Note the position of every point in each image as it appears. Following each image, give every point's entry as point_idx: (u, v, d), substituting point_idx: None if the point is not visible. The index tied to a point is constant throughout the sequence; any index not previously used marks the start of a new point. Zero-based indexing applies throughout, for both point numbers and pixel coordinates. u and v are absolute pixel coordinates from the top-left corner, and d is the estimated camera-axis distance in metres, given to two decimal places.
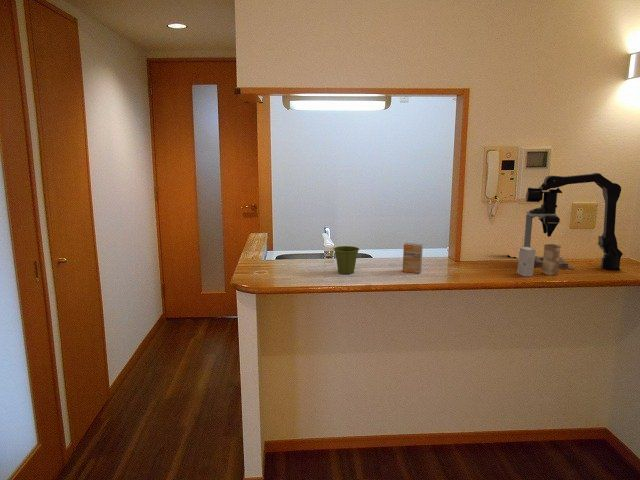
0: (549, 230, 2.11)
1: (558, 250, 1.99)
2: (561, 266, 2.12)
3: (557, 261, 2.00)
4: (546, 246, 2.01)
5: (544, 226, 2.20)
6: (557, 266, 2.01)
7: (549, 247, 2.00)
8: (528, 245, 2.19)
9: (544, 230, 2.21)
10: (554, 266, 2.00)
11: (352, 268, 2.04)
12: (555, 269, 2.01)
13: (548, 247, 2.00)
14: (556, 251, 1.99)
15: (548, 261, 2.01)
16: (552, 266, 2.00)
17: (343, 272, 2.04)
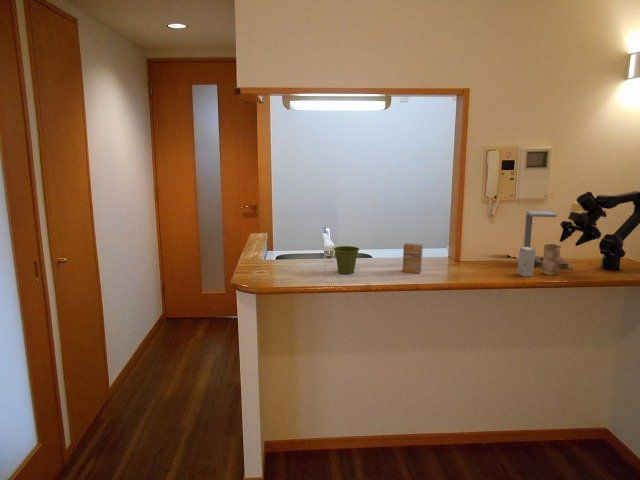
0: (581, 240, 1.98)
1: (558, 250, 1.99)
2: (561, 266, 2.12)
3: (557, 261, 2.00)
4: (546, 246, 2.01)
5: (564, 235, 2.07)
6: (557, 266, 2.01)
7: (549, 247, 2.00)
8: (528, 245, 2.19)
9: (561, 238, 2.07)
10: (554, 266, 2.00)
11: (352, 268, 2.04)
12: (555, 269, 2.01)
13: (548, 247, 2.00)
14: (556, 251, 1.99)
15: (548, 261, 2.01)
16: (552, 266, 2.00)
17: (343, 272, 2.04)
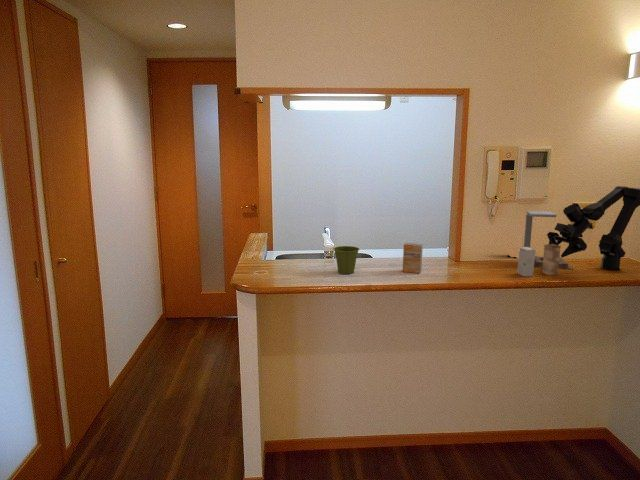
0: (567, 252, 1.97)
1: (558, 250, 1.99)
2: (561, 266, 2.12)
3: (557, 261, 2.00)
4: (546, 246, 2.01)
5: None
6: (557, 266, 2.01)
7: (549, 247, 2.00)
8: (528, 245, 2.19)
9: None
10: (554, 266, 2.00)
11: (352, 268, 2.04)
12: (555, 269, 2.01)
13: (548, 247, 2.00)
14: (556, 251, 1.99)
15: (548, 261, 2.01)
16: (552, 266, 2.00)
17: (343, 272, 2.04)
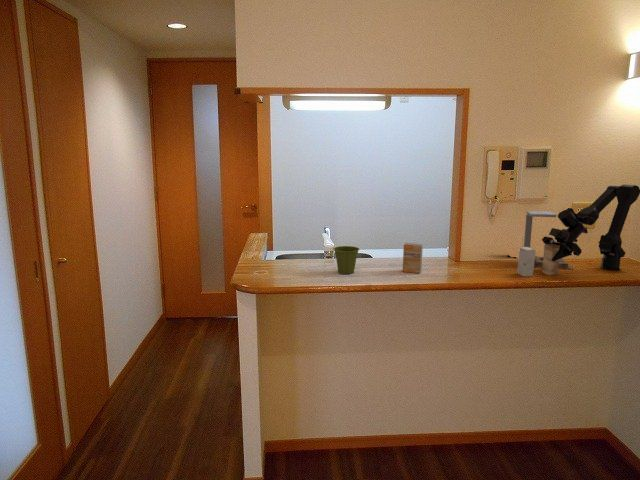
0: (558, 256, 1.99)
1: (558, 250, 1.99)
2: (561, 266, 2.12)
3: (557, 261, 2.00)
4: (546, 246, 2.01)
5: None
6: (557, 266, 2.01)
7: (549, 247, 2.00)
8: (528, 245, 2.19)
9: None
10: (554, 266, 2.00)
11: (352, 268, 2.04)
12: (555, 269, 2.01)
13: (548, 247, 2.00)
14: (556, 251, 1.99)
15: (548, 261, 2.01)
16: (552, 266, 2.00)
17: (343, 272, 2.04)
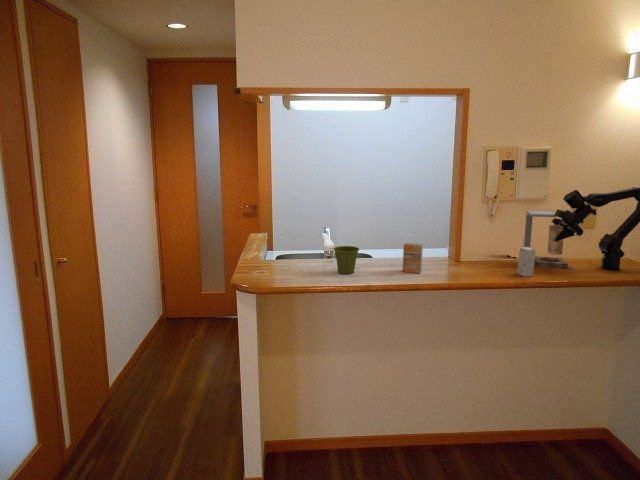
0: (561, 236, 2.06)
1: None
2: (561, 266, 2.12)
3: (561, 241, 2.07)
4: (550, 227, 2.09)
5: None
6: (561, 246, 2.08)
7: (552, 227, 2.07)
8: (528, 245, 2.19)
9: None
10: (557, 246, 2.08)
11: (352, 268, 2.04)
12: (559, 249, 2.08)
13: (552, 227, 2.08)
14: (559, 231, 2.06)
15: (551, 241, 2.09)
16: (555, 245, 2.08)
17: (343, 272, 2.04)
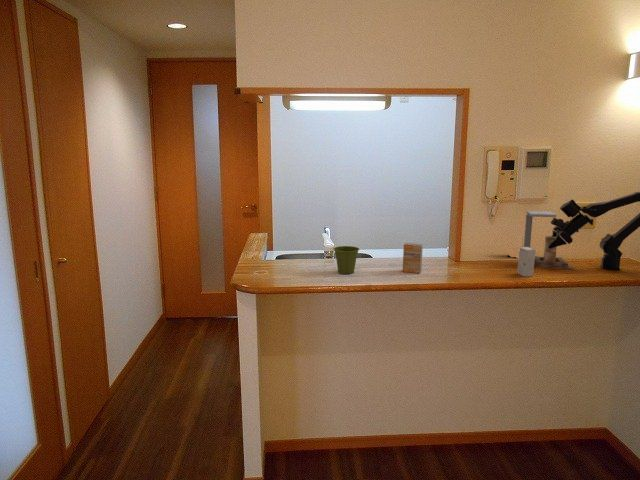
0: (554, 243, 2.13)
1: None
2: (561, 266, 2.12)
3: (554, 252, 2.16)
4: (545, 237, 2.19)
5: None
6: (554, 257, 2.16)
7: (546, 238, 2.17)
8: (528, 245, 2.19)
9: None
10: (550, 257, 2.17)
11: (352, 268, 2.04)
12: (551, 259, 2.17)
13: (546, 238, 2.18)
14: None
15: (545, 251, 2.18)
16: (548, 256, 2.17)
17: (343, 272, 2.04)
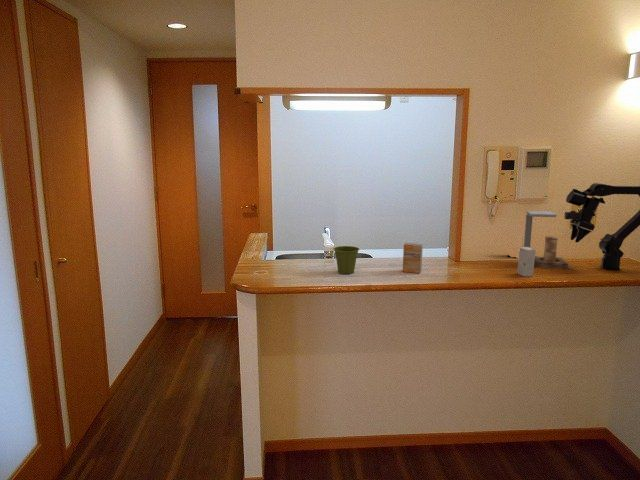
0: (579, 236, 2.06)
1: (554, 242, 2.15)
2: (561, 266, 2.12)
3: (554, 252, 2.16)
4: (545, 237, 2.19)
5: (573, 232, 2.15)
6: (554, 257, 2.16)
7: (546, 238, 2.17)
8: (528, 245, 2.19)
9: (572, 236, 2.16)
10: (550, 257, 2.17)
11: (352, 268, 2.04)
12: (551, 259, 2.17)
13: (546, 238, 2.18)
14: (552, 242, 2.15)
15: (545, 251, 2.18)
16: (548, 256, 2.17)
17: (343, 272, 2.04)
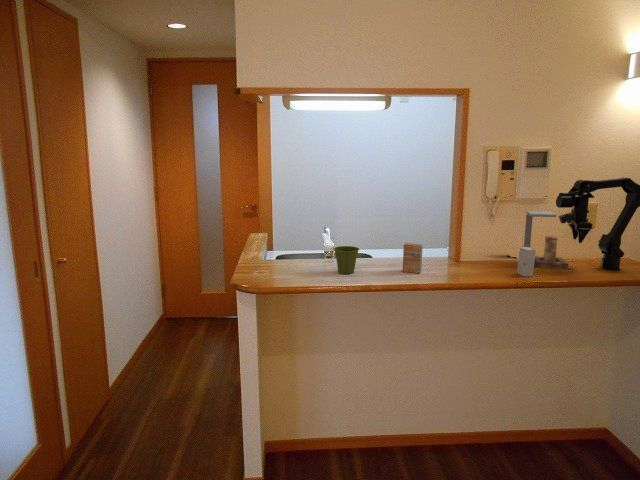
0: (581, 236, 2.04)
1: (554, 242, 2.15)
2: (561, 266, 2.12)
3: (554, 252, 2.16)
4: (545, 237, 2.19)
5: (574, 232, 2.13)
6: (554, 257, 2.16)
7: (546, 238, 2.17)
8: (528, 245, 2.19)
9: (574, 236, 2.14)
10: (550, 257, 2.17)
11: (352, 268, 2.04)
12: (551, 259, 2.17)
13: (546, 238, 2.18)
14: (552, 242, 2.15)
15: (545, 251, 2.18)
16: (548, 256, 2.17)
17: (343, 272, 2.04)
